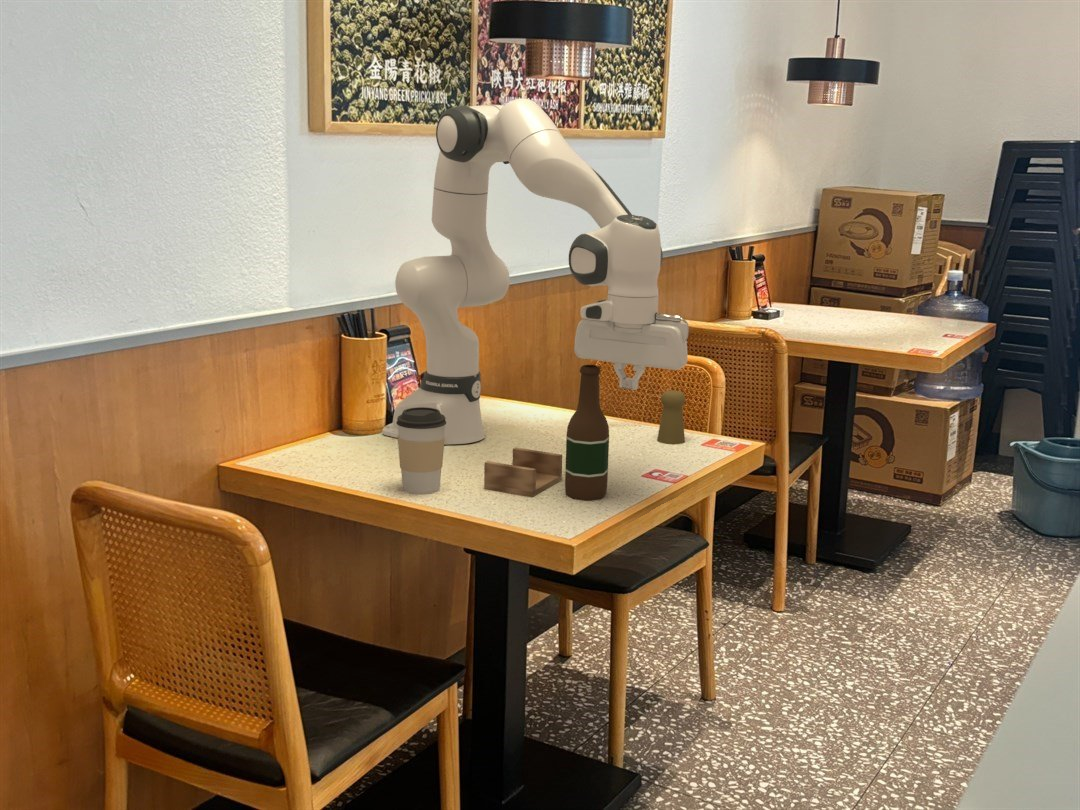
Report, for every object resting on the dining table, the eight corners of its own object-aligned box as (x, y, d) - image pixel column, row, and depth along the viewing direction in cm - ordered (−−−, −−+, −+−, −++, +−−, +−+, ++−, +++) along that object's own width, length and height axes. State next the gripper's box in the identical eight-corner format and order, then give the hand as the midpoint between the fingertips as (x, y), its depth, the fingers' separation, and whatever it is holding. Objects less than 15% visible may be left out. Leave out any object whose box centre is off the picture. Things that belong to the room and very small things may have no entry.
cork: (682, 437, 252) (685, 388, 250) (686, 444, 247) (689, 394, 244) (655, 436, 252) (657, 387, 250) (658, 444, 246) (661, 394, 244)
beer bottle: (562, 488, 214) (566, 361, 208) (604, 488, 214) (609, 362, 209) (566, 501, 206) (570, 370, 201) (609, 501, 207) (614, 370, 201)
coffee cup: (386, 488, 211) (385, 408, 208) (422, 478, 218) (422, 401, 214) (419, 499, 205) (419, 417, 202) (456, 488, 212) (456, 409, 208)
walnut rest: (484, 488, 212) (484, 462, 211) (515, 472, 223) (515, 447, 222) (532, 497, 208) (533, 470, 207) (561, 479, 219) (562, 454, 218)
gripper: (695, 314, 197) (690, 392, 201) (586, 303, 206) (583, 378, 209) (683, 319, 192) (678, 399, 195) (572, 307, 201) (569, 384, 204)
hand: (628, 388), depth 202 cm, fingers closed
